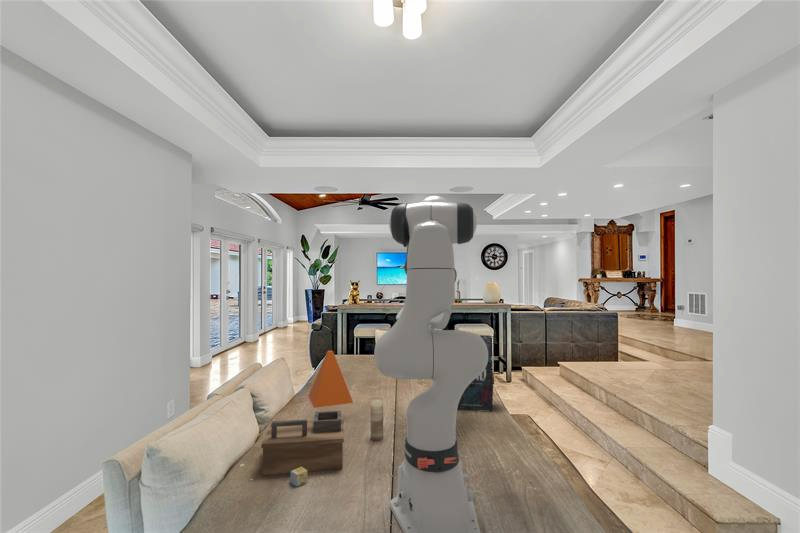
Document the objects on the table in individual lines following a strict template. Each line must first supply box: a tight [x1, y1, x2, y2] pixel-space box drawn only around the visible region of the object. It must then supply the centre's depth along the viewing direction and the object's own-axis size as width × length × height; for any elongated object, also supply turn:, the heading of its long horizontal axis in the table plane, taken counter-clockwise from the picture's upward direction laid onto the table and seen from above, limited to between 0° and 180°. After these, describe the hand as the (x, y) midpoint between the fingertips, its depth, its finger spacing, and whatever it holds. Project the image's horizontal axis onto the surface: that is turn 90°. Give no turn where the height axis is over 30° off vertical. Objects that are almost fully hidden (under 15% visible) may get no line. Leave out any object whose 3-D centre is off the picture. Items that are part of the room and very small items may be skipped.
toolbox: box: [260, 410, 345, 476], centre depth 105 cm, size 14×21×12 cm, turn 99°
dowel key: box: [370, 397, 384, 441], centre depth 119 cm, size 4×4×12 cm
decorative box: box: [457, 334, 494, 412], centre depth 147 cm, size 8×16×28 cm, turn 81°
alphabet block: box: [289, 467, 308, 488], centre depth 93 cm, size 3×3×3 cm
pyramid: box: [308, 350, 354, 409], centre depth 156 cm, size 16×16×20 cm
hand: (412, 334), depth 127 cm, fingers open, 8 cm apart
